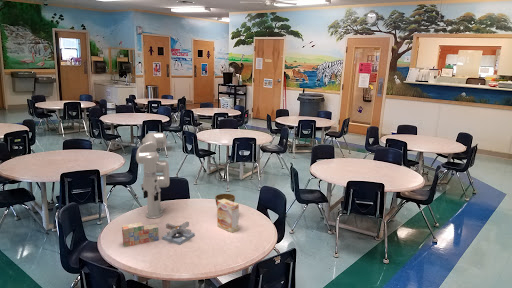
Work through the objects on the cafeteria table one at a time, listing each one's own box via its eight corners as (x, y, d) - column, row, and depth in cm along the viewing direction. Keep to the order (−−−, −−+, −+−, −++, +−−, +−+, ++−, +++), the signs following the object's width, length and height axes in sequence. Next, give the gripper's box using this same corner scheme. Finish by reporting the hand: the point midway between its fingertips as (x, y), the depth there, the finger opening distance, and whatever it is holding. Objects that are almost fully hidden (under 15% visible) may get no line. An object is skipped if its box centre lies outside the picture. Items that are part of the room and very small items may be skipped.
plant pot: (238, 215, 282) (238, 195, 279) (227, 222, 270) (227, 201, 267) (223, 211, 290) (223, 192, 287) (211, 217, 278) (211, 197, 274)
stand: (177, 230, 255) (177, 227, 254) (194, 235, 248) (194, 232, 247) (162, 239, 242) (162, 236, 241) (180, 245, 235) (179, 241, 234)
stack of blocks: (156, 236, 246) (155, 219, 243) (158, 240, 241) (158, 222, 238) (122, 243, 236) (121, 225, 233) (124, 247, 231) (123, 229, 228)
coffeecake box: (216, 226, 263) (216, 200, 258) (224, 223, 268) (224, 198, 264) (231, 233, 253) (231, 206, 248) (238, 230, 258) (239, 203, 254)
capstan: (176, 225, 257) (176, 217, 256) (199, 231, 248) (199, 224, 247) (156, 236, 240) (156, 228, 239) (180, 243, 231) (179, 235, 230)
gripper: (164, 174, 235) (164, 200, 238) (145, 170, 244) (146, 195, 247) (155, 177, 228) (156, 203, 232) (136, 173, 237) (137, 198, 241)
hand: (151, 199), depth 239 cm, fingers open, 9 cm apart
